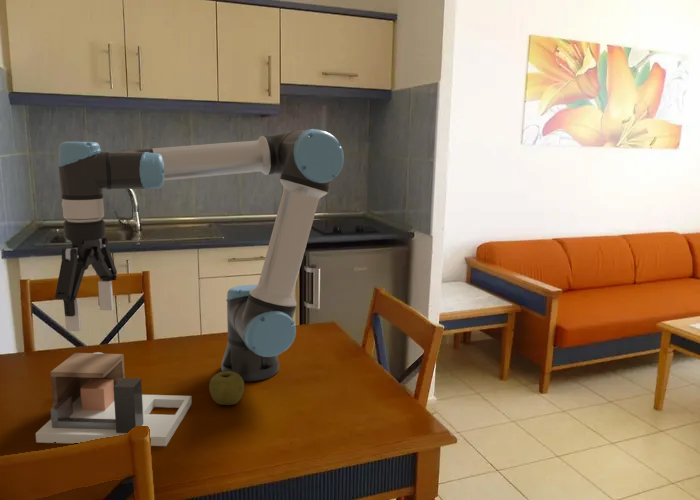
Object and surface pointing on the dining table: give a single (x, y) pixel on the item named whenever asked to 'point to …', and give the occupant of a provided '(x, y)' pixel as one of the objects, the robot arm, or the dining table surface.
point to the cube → (97, 394)
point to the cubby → (84, 373)
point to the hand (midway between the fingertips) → (91, 319)
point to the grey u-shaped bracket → (125, 419)
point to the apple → (226, 388)
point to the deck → (157, 423)
